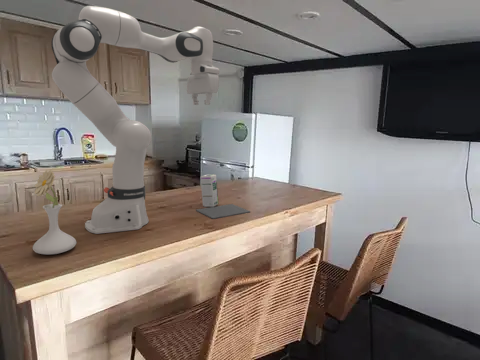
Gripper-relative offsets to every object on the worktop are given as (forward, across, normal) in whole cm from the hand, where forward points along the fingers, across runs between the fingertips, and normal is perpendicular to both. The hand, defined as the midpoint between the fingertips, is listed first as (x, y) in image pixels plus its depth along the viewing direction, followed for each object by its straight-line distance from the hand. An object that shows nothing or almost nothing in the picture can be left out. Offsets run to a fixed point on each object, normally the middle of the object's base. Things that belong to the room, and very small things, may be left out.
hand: (201, 104), depth 134 cm
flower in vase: (+46, +16, -59) cm, 77 cm away
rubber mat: (+46, +7, +8) cm, 47 cm away
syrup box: (+46, -4, +8) cm, 47 cm away
